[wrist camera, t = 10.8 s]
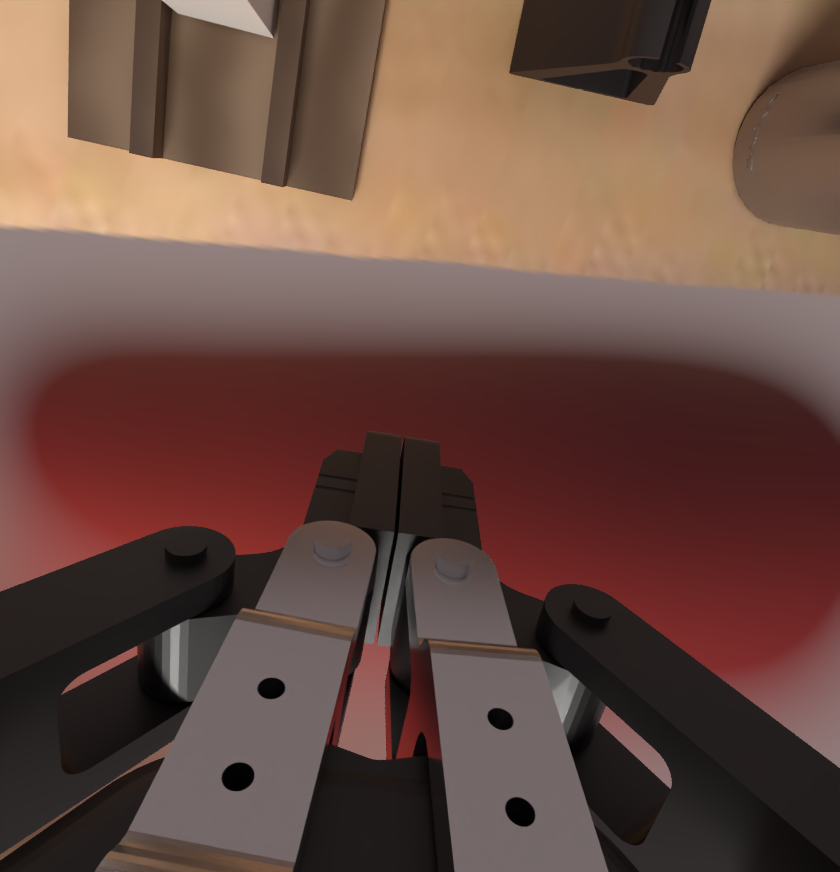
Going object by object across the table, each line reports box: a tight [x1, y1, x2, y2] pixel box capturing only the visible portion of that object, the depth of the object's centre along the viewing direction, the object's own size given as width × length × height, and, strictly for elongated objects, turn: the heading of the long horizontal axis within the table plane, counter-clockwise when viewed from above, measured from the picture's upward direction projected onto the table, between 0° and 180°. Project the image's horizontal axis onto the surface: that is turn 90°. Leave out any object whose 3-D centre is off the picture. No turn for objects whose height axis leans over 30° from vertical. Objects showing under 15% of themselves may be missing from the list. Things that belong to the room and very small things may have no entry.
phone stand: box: [509, 0, 711, 105], centre depth 32 cm, size 9×6×12 cm, turn 79°
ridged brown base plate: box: [68, 0, 386, 200], centre depth 34 cm, size 16×13×3 cm
